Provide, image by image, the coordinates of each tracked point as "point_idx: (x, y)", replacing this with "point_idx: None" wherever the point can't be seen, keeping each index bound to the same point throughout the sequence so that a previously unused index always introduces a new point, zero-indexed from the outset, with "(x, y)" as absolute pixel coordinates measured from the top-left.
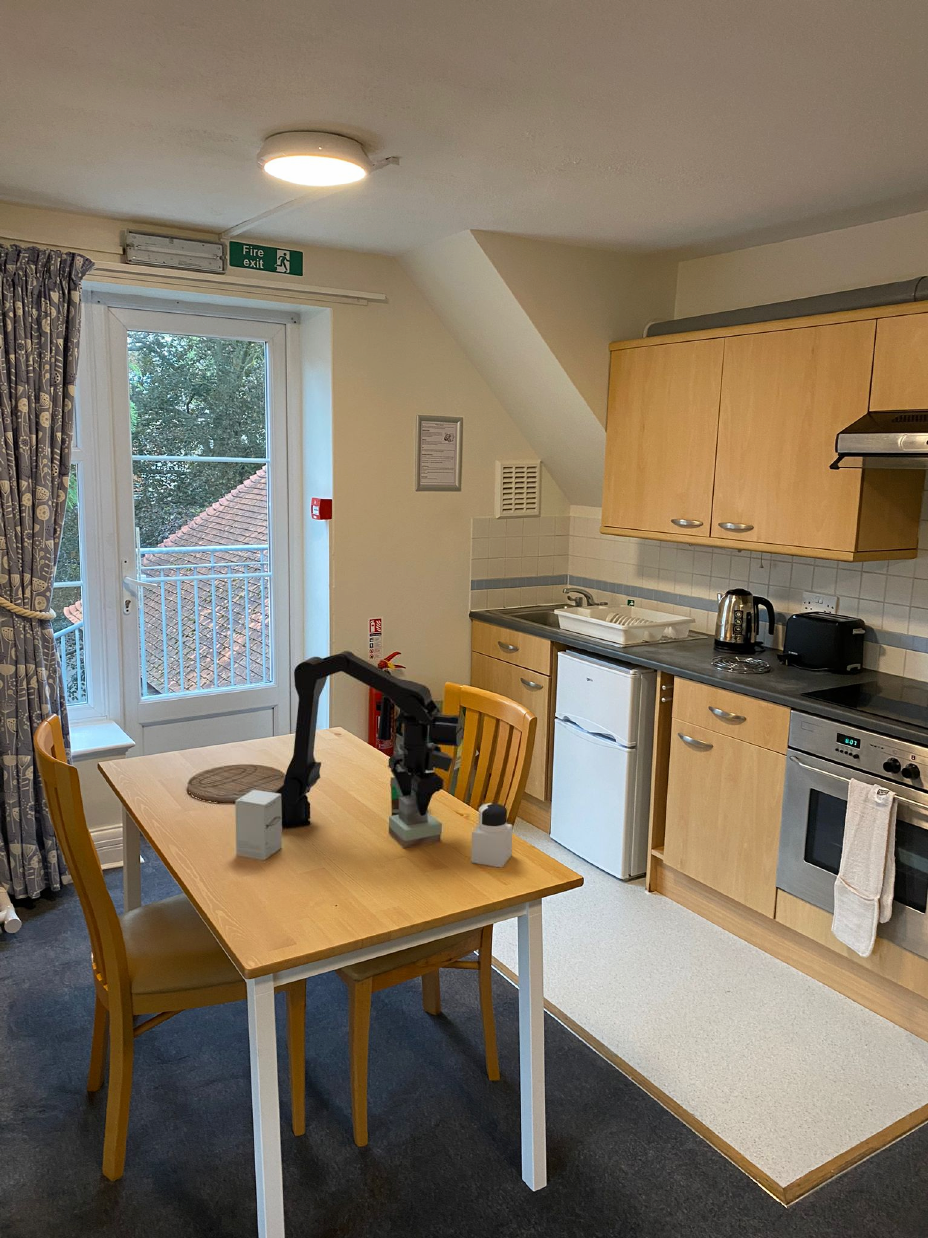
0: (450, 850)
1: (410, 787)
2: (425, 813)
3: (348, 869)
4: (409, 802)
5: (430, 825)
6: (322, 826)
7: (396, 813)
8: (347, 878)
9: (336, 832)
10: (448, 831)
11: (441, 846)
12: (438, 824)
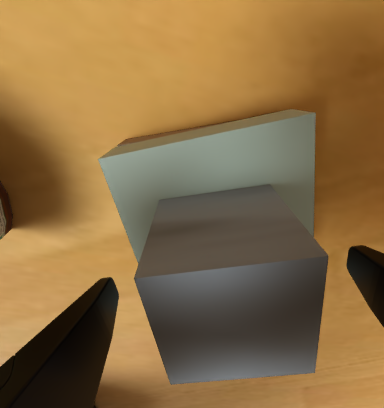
0: (376, 93)
1: (61, 356)
2: (372, 251)
3: (336, 359)
4: (294, 360)
5: (313, 180)
6: None
7: (6, 220)
8: (375, 364)
9: (132, 357)
10: (188, 42)
11: (323, 120)
12: (313, 134)
